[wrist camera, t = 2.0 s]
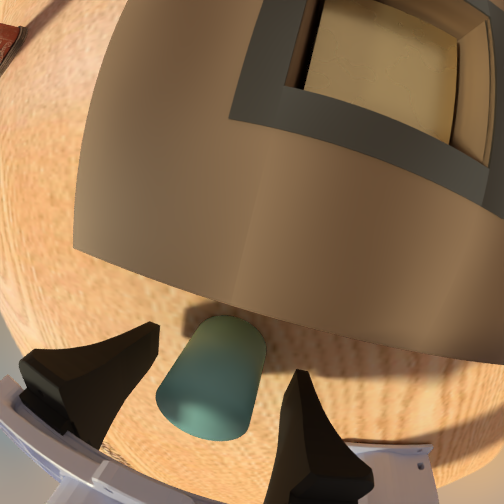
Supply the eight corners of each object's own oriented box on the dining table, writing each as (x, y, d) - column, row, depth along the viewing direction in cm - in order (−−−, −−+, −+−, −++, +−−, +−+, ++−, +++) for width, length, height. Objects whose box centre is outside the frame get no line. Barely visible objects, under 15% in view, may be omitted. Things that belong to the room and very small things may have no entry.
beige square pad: (450, 43, 5) (456, 38, 5) (438, 155, 7) (446, 154, 6) (327, -4, 6) (328, -13, 5) (301, 105, 7) (301, 100, 7)
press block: (501, 43, 6) (555, 15, 1) (455, 302, 11) (512, 367, 6) (235, -46, 8) (205, -109, 2) (156, 215, 13) (71, 248, 7)
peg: (275, 328, 13) (260, 400, 9) (256, 381, 15) (238, 449, 10) (199, 305, 14) (156, 364, 9) (191, 360, 15) (155, 420, 10)
